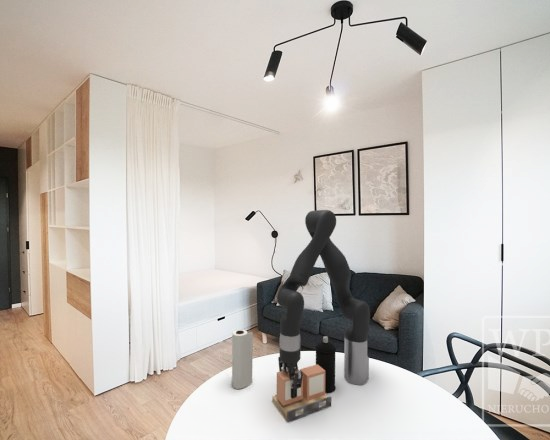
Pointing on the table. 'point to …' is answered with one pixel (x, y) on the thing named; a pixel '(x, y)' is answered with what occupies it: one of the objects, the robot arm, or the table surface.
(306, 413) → the tan flat block
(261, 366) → the table surface
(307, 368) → the carton faced
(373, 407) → the table surface
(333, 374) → the aerosol can
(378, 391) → the table surface
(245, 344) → the paper towel roll
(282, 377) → the carton
